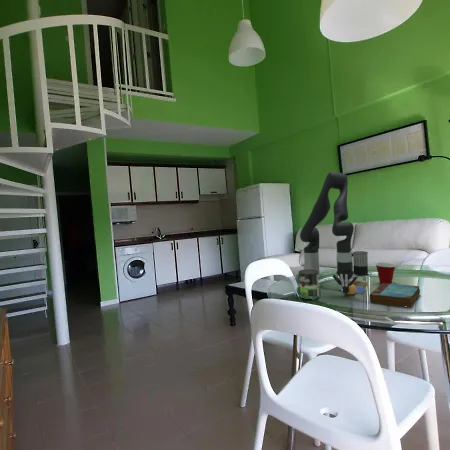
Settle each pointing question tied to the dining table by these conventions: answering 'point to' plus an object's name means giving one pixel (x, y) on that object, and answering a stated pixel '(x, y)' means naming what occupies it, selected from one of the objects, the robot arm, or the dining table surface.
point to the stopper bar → (359, 283)
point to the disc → (358, 290)
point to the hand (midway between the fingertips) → (345, 293)
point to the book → (395, 294)
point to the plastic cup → (385, 272)
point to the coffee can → (309, 282)
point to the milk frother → (360, 263)
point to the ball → (352, 289)
